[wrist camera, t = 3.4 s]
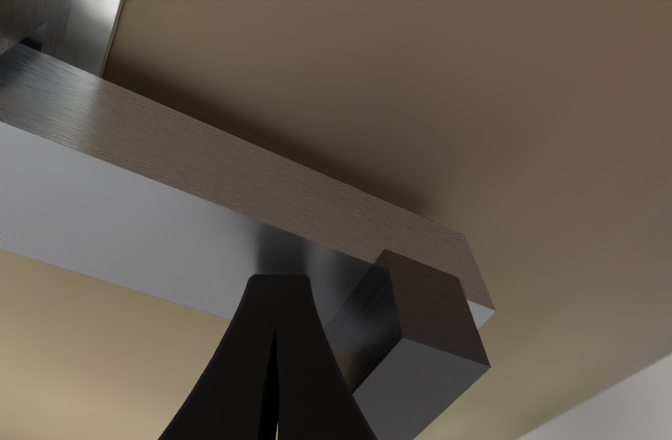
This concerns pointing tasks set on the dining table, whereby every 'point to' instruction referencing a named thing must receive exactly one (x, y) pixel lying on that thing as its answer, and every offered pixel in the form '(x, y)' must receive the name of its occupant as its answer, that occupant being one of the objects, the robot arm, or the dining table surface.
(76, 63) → the bearing block
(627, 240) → the dining table surface
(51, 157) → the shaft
